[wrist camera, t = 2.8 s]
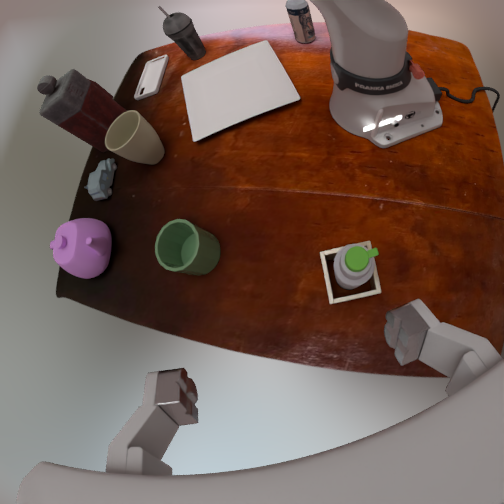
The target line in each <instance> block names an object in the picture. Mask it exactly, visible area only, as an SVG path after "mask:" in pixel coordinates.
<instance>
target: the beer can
mask: <svg viewBox="0 0 504 504" xmlns="http://www.w3.org/2000/svg"><path fill="white" fill-rule="evenodd" d="M286 8H287V12H288V15H289V18H290V21H291V25H292V28H293V31H294V35H295V39H296V40H297V41H298V42H301V43H308V42H311V41H313V40H314V39H315V32H314V27H313V23H312V19H311V14H310V10H309V6H308V3H307V2H306V1H305V0H288V1H287V3H286Z"/></svg>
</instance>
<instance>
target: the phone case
mask: <svg viewBox="0 0 504 504" xmlns="http://www.w3.org/2000/svg"><path fill="white" fill-rule="evenodd" d="M161 57H165V58H162V59H160V60H157V61H154V60H156V59H159V58H161ZM161 57H158V58H156V59H153V60H151V61H154V62H151V61H148V62H147V63H146V65H145V68H144V71H143V73H142V76H141V79H140V81H139V84H138V87H137V90H136V93H135V96H134V98H135V99H136V100H140V99H142V98H145V97H148V96H151V95H154V94H157V93H158V91H159V88H160V84H161V81H162V78H163V75H164V72H165V69H166V66H167V63H168V60H169V57H168V56H167V55H164V56H161ZM140 84H141V85H140ZM139 86H140V88H139ZM142 88H145V89H144V92H143V94H142V95H140V92H141V89H142ZM138 89H139V91H138ZM137 92H138V94H137ZM139 95H140V96H139Z"/></svg>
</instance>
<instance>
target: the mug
mask: <svg viewBox="0 0 504 504" xmlns="http://www.w3.org/2000/svg"><path fill="white" fill-rule="evenodd" d="M105 145H106V147H107V149H109V150H110V151H112V152H114V153H116V154H118V155H120V156H122V157H124V158H126V159H128V160H131V161H134V162H139V163H145V164H151V165H153V164H156V163H158V162H159V161H160V160H161V159H162V158H163V156H164V147H163V145H162V143H161V141H160V139H159V137H158V135H157V133H156V131H155V130H154V129H153V128H152V126H151V125H150V124H149V123H148V122H147V121H146V120H145V119H144V118H143V117H142V116H141V115H140V114H139V113H138V112H137V111H134V110H130V111H127V112H124V113H122V114H121V115H120V116H119V117H117V118H116V119H115V120H114V122H113V123H112V124H111V126H110V127H109V129H108V131H107V134H106V137H105Z"/></svg>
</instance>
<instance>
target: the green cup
mask: <svg viewBox="0 0 504 504" xmlns="http://www.w3.org/2000/svg"><path fill="white" fill-rule="evenodd" d="M155 252H156V257H157V259H158V261H159V263H160V264H161V265H162V266H163V267H164V268H165V269H167V270H171V271H175V272H180V273H186V274H192V275H204V274H207V273H209V272H210V271H211V270H213V269H214V268H215V266H216V265H217V263H218V261H219V258H220V245H219V242H218V240H217V238H216V237H215V236H214V235H213V234H212V233H210V232H208V231H207V230H205V229H203V228H201V227H199V226H197V225H195V224H193V223H191V222H189V221H187V220H182V219H176V220H173V221H170V222H169V223H167V224H166V225H165V226H164V227H163V228H162V229H161V231H160V232H159V234H158V236H157V239H156V244H155Z"/></svg>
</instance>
